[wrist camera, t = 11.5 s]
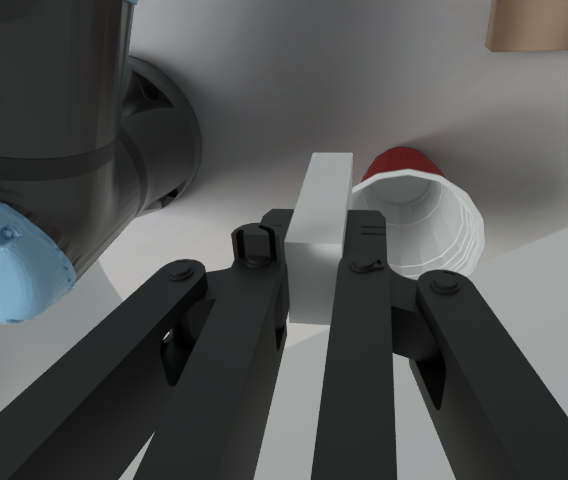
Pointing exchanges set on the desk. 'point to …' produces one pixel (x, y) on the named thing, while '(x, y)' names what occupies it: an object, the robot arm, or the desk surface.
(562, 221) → the desk surface
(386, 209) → the plastic cup
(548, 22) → the board
